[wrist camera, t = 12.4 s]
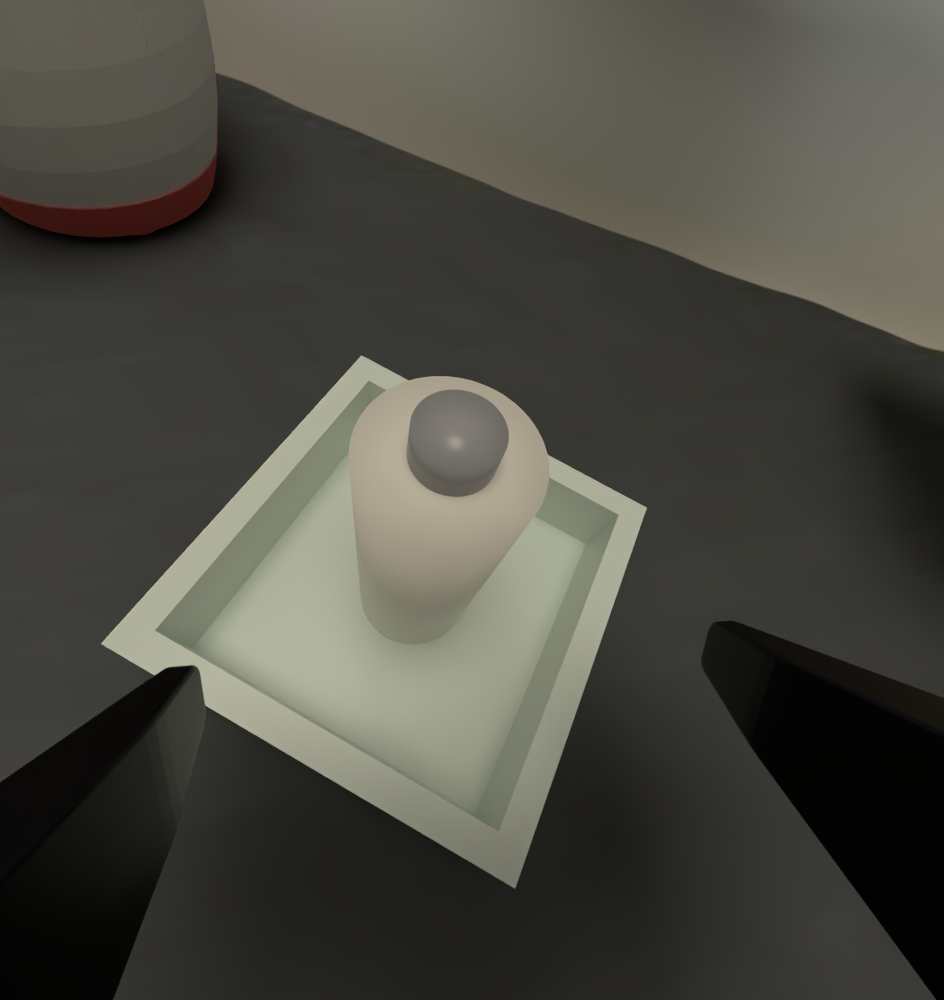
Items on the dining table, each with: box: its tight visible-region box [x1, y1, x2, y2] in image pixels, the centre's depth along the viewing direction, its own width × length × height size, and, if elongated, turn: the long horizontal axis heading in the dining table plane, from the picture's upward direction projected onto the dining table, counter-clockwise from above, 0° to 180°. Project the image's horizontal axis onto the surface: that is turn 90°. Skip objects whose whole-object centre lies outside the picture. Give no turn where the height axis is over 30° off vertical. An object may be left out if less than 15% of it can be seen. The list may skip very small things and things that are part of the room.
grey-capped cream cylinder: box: [349, 376, 549, 644], centre depth 15 cm, size 4×4×12 cm
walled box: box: [101, 356, 647, 888], centre depth 19 cm, size 14×14×4 cm
